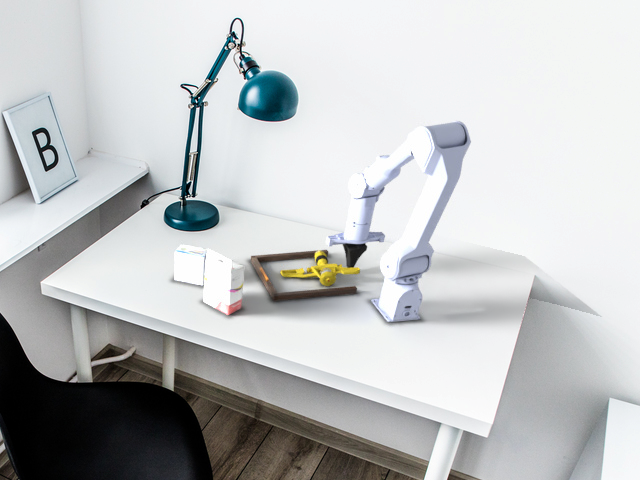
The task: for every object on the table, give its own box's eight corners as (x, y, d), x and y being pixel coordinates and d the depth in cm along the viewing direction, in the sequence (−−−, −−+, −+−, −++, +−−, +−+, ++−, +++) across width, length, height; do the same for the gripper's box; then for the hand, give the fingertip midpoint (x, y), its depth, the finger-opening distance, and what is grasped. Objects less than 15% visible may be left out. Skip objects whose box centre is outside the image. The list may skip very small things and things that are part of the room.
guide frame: (356, 293, 162) (357, 287, 160) (273, 300, 160) (274, 294, 159) (325, 254, 178) (327, 248, 177) (250, 260, 176) (251, 254, 175)
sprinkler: (351, 243, 173) (363, 270, 160) (350, 256, 175) (362, 284, 163) (276, 251, 176) (282, 278, 163) (277, 264, 178) (283, 292, 166)
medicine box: (208, 278, 169) (210, 248, 164) (202, 286, 166) (204, 256, 161) (180, 272, 172) (180, 243, 167) (173, 280, 168) (174, 250, 163)
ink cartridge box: (242, 308, 157) (247, 254, 149) (228, 316, 155) (232, 261, 146) (216, 294, 163) (220, 241, 154) (202, 301, 160) (205, 248, 151)
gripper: (380, 210, 165) (369, 257, 173) (325, 214, 164) (317, 262, 172) (392, 223, 159) (381, 271, 167) (335, 227, 158) (326, 275, 166)
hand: (349, 267), depth 169 cm, fingers closed
